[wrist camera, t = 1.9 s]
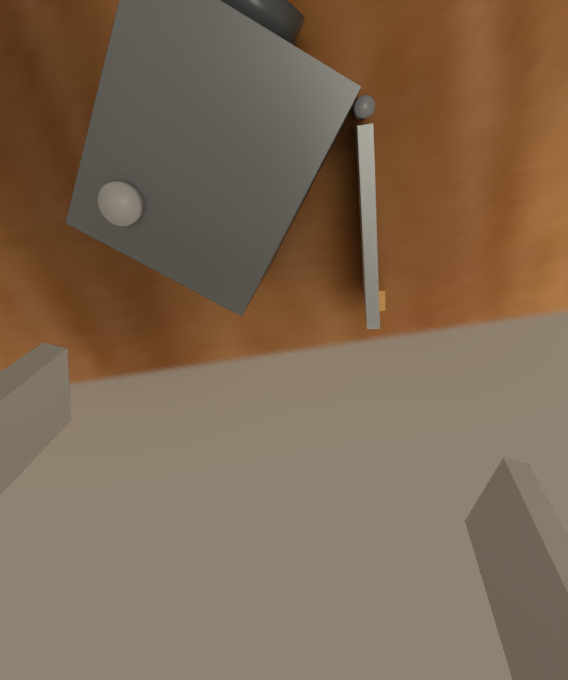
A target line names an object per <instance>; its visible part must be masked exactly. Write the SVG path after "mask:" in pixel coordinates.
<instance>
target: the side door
mask: <svg viewBox="0 0 568 680" xmlns="http://www.w3.org/2000/svg"><path fill="white" fill-rule="evenodd" d="M355 132H356V152H357V172H358V193H359V213H360V233H361V253H362V273H363V293H364V303H365V313H366V323H367V329H380V314H379V311H386V310H385V289H384V284H383V280H382V277H378V253H377V222H376V191H375V160H374V130H373V123H372V124H365V125H359V126H355Z"/></svg>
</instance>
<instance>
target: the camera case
mask: <svg viewBox="0 0 568 680" xmlns="http://www.w3.org/2000/svg"><path fill="white" fill-rule="evenodd" d="M304 20H305V19H304V17H303V15H302V14H301V13H300V12H299V11H298V10H297V9H296V8H295V7H294V6H293V5H291V4H290V3H289V2H288V1H287V0H119V4H118V8H117V12H116V17H115V21H114V25H113V29H112V33H111V37H110V41H109V46H108V50H107V54H106V58H105V62H104V66H103V70H102V75H101V79H100V83H99V87H98V91H97V95H96V99H95V104H94V108H93V112H92V116H91V120H90V124H89V128H88V133H87V137H86V141H85V145H84V149H83V153H82V157H81V161H80V166H79V170H78V174H77V178H76V182H75V186H74V190H73V195H72V199H71V203H70V207H69V211H68V215H67V219H66V224H68V225H70V226H72V227H74V228H76V229H78V230H80V231H81V232H83V233H85V234H87V235H89V236H91V237H93V238H95V239H97V240H98V241H100V242H102V243H104V244H106V245H108V246H110V247H112V248H114V249H115V250H117V251H119V252H121V253H123V254H125V255H127V256H129V257H131V258H132V259H134V260H136V261H138V262H140V263H142V264H144V265H146V266H148V267H149V268H151V269H153V270H155V271H157V272H159V273H161V274H163V275H165V276H166V277H168V278H170V279H172V280H174V281H176V282H178V283H180V284H182V285H183V286H185V287H187V288H189V289H191V290H193V291H195V292H197V293H199V294H200V295H202V296H204V297H206V298H208V299H210V300H212V301H214V302H215V303H217V304H219V305H221V306H223V307H225V308H227V309H229V310H231V311H232V312H234V313H236V314H238V315H240V316H242V315H243V313H244V312H245V310H246V308H247V306H248V305H249V303H250V301H251V299H252V297H253V296H254V294H255V292H256V290H257V289H258V287H259V285H260V283H261V281H262V280H263V278H264V276H265V274H266V272H267V270H268V268H269V267H270V265H271V263H272V261H273V259H274V257H275V255H276V253H277V251H278V249H279V247H280V245H281V244H282V242H283V240H284V238H285V236H286V234H287V232H288V230H289V228H290V226H291V224H292V222H293V221H294V219H295V217H296V215H297V213H298V211H299V209H300V207H301V205H302V203H303V201H304V200H305V198H306V196H307V194H308V192H309V190H310V188H311V186H312V184H313V182H314V180H315V178H316V177H317V175H318V173H319V171H320V169H321V167H322V165H323V163H324V161H325V159H326V157H327V156H328V154H329V152H330V150H331V148H332V146H333V144H334V142H335V140H336V138H337V136H338V134H339V133H340V131H341V129H342V127H343V125H344V123H345V121H346V119H347V117H348V115H349V113H350V112H351V110H352V108H353V106H354V104H355V106H354V109H353V116H354V118H355V119H357V120H364V119H365V118H367V117H369V116H370V115H371V114H372V113H373V111H374V109H375V102H374V100H373V98H372V97H371V96H369V95H363V96H361V97H359V98H358V95H359V92H360V89H361V86H359V85H357V84H356V83H354V82H353V81H351V80H349V79H348V78H346V77H344V76H343V75H341V74H340V73H338V72H336V71H335V70H333V69H331V68H330V67H328V66H326V65H325V64H323V63H322V62H320V61H318V60H317V59H315V58H313V57H312V56H310V55H309V54H307V53H305V52H304V51H302V50H300V49H299V48H297V47H296V46H294V43H295V41H296V39H297V36H298V34H299V32H300V29H301V27H302V25H303V22H304ZM357 98H358V99H357ZM356 100H357V101H356ZM355 102H356V103H355Z"/></svg>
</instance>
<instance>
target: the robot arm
mask: <svg viewBox="0 0 568 680" xmlns="http://www.w3.org/2000/svg"><path fill="white" fill-rule="evenodd" d="M70 421H71V406H70V387H69V368H68V349H67V348H63V347H59V346H55V345H51V344H47V343H41V344H40V345H38V346H37V347H35V348H34V349H33V350H31V351H30V352H28V353H27V354H25V355H24V356H23V357H21V358H20V359H18V360H17V361H15V362H14V363H12V364H11V365H10V366H8V367H7V368H5V369H4V370H2V371H1V372H0V494H1V493H2V492H3V491H4V490H5V489H6V488H7V487H8V486H9V485H10V484H11V483H12V482H13V481H14V480H15V479H16V478H17V477H18V476H19V475H20V474H21V472H22V471H23V470H24V469H25V468H26V467H27V466H28V465H29V464H30V463H31V462H32V461H33V460H34V459H35V458H36V457H37V456H38V455H39V453H41V451H42V450H43V449H44V448H45V447H46V446H47V445H48V444H49V443H50V442H51V441H52V440H53V439H54V438H55V437H56V436H57V435H58V434H59V433H60V431H62V429H63V428H64V427H65V426H66V425H67V424H68V423H69V422H70ZM465 522H466V526H467V529H468V533H469V536H470V539H471V543H472V546H473V549H474V553H475V556H476V559H477V563H478V566H479V569H480V573H481V575H482V579H483V582H484V586H485V589H486V593H487V596H488V599H489V603H490V606H491V609H492V613H493V616H494V619H495V623H496V626H497V629H498V633H499V636H500V639H501V643H502V646H503V649H504V653H505V656H506V659H507V663H508V666H509V669H510V673H511V676H512V679H513V680H568V534H567V532H566V530H565V528H564V526H563V524H562V523H561V521H560V519H559V517H558V515H557V513H556V512H555V510H554V508H553V506H552V504H551V503H550V501H549V499H548V497H547V495H546V493H545V491H544V489H543V488H542V486H541V484H540V482H539V480H538V478H537V477H536V475H535V473H534V471H533V469H532V467H531V466H530V464H526V463H522V462H519V461H515V460H511V459H507V458H503V459H502V461H501V463H500V464H499V466H498V468H497V469H496V471H495V473H494V474H493V476H492V477H491V479H490V481H489V482H488V484H487V485H486V487H485V489H484V490H483V492H482V494H481V495H480V497H479V499H478V500H477V502H476V504H475V505H474V507H473V509H472V510H471V512H470V514H469V515H468V517H467V518H466V520H465Z"/></svg>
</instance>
